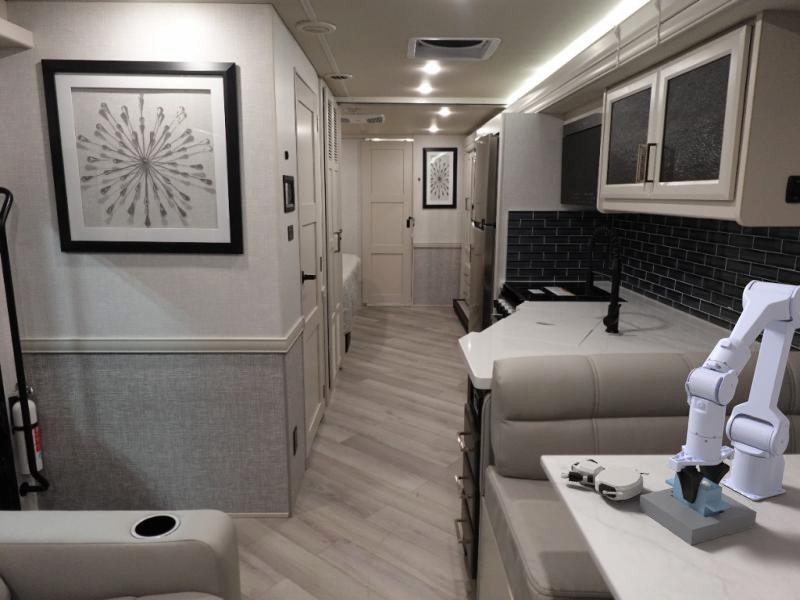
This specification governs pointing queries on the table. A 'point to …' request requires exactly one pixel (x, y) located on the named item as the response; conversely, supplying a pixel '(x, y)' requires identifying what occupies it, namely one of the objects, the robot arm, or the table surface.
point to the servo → (702, 497)
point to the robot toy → (607, 479)
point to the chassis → (696, 517)
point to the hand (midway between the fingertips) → (697, 498)
